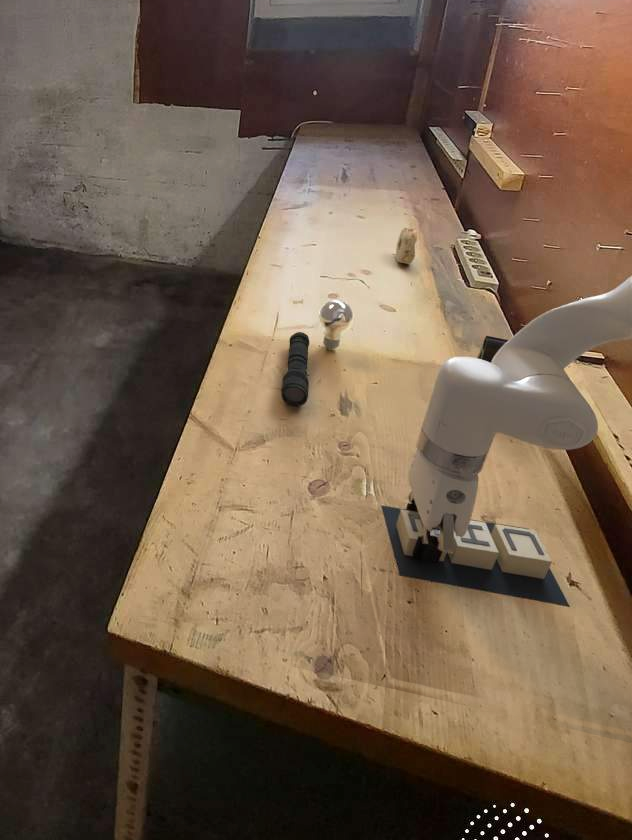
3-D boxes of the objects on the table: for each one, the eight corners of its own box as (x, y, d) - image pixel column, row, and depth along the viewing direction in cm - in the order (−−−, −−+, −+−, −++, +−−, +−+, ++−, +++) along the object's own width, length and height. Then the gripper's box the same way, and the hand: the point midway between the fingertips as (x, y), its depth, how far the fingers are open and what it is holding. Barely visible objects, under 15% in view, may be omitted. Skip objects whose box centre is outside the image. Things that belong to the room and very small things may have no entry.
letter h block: (478, 539, 81) (485, 521, 79) (491, 570, 77) (499, 552, 75) (440, 532, 82) (446, 515, 81) (451, 563, 78) (457, 545, 76)
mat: (528, 530, 82) (529, 528, 82) (569, 608, 72) (570, 606, 72) (380, 507, 87) (381, 505, 87) (399, 577, 77) (399, 575, 76)
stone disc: (392, 253, 169) (399, 222, 164) (406, 254, 168) (413, 223, 163) (397, 268, 160) (405, 235, 156) (412, 269, 159) (420, 237, 155)
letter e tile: (433, 531, 82) (438, 514, 81) (443, 561, 78) (449, 544, 76) (395, 525, 84) (400, 508, 82) (404, 554, 79) (409, 537, 78)
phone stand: (508, 409, 106) (527, 357, 100) (470, 400, 108) (488, 348, 103) (504, 383, 113) (522, 333, 107) (469, 375, 115) (485, 325, 110)
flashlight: (279, 404, 109) (282, 383, 107) (286, 347, 127) (289, 328, 124) (306, 409, 108) (309, 388, 106) (309, 351, 125) (312, 332, 123)
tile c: (527, 547, 80) (535, 529, 78) (544, 579, 75) (552, 561, 74) (488, 540, 81) (495, 523, 79) (501, 571, 76) (509, 554, 75)
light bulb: (347, 359, 122) (357, 312, 116) (313, 354, 124) (321, 307, 118) (345, 342, 128) (355, 296, 122) (313, 338, 130) (321, 292, 124)
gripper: (511, 503, 64) (468, 603, 72) (462, 407, 79) (431, 499, 87) (439, 492, 66) (405, 591, 74) (403, 400, 81) (378, 491, 89)
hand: (419, 540), depth 81 cm, fingers closed on letter e tile, 4 cm apart
